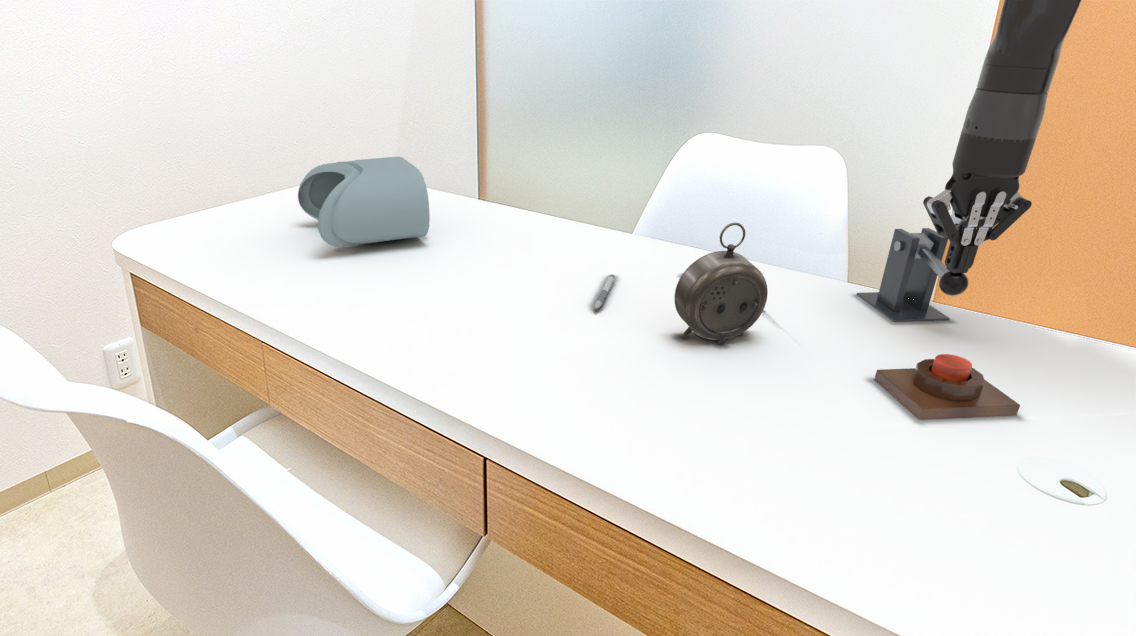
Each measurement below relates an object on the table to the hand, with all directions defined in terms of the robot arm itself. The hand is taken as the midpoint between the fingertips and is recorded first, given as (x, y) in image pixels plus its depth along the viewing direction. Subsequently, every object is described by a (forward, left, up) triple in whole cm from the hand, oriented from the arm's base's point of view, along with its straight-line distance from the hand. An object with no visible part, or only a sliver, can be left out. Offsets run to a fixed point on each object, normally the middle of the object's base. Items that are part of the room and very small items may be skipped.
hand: (956, 271), depth 95 cm
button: (+10, +16, -6) cm, 20 cm away
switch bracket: (0, -9, -10) cm, 13 cm away
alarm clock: (+30, -1, -10) cm, 31 cm away
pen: (+41, -18, -10) cm, 46 cm away
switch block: (+10, +16, -10) cm, 21 cm away
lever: (0, -5, -2) cm, 5 cm away
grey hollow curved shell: (+79, -50, -10) cm, 94 cm away
